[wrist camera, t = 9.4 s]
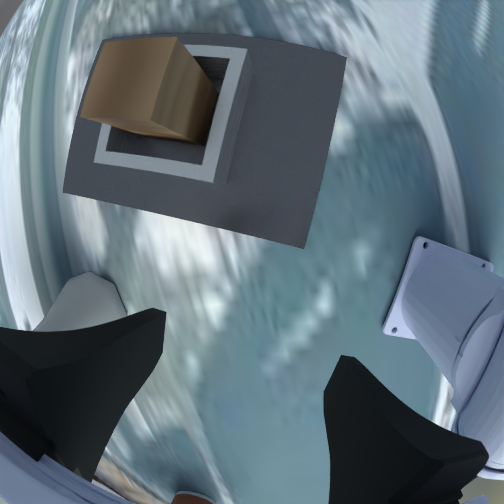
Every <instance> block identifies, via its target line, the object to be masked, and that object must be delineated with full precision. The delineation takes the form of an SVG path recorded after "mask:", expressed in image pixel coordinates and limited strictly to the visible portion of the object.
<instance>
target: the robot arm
mask: <svg viewBox="0 0 504 504" xmlns="http://www.w3.org/2000/svg"><path fill="white" fill-rule="evenodd" d="M425 242H426V247H424V248H423V244H424V243H425ZM482 265H483V267H482ZM492 272H493V264H492V263H490V262H488V261H485V260H483V259H480V258H478V257H475V256H473V255H470V254H468V253H465V252H462V251H460V250H457V249H454V248H452V247H449V246H446V245H444V244H441V243H438V242H435V241H432V240H430V239H427V238H424V237H421V236H418V237H416V238H415V239H414V241H413V244H412V248H411V251H410V254H409V257H408V260H407V264H406V267H405V270H404V273H403V275H402V278H401V281H400V284H399V287H398V289H397V292H396V295H395V297H394V300H393V303H392V305H391V308H390V310H389V313H388V315H387V317H386V320H385V322H384V325H383V327H382V330H383V332H384V333H385V334H387V335H393V336H398V337H404V338H410V339H417V340H418V341H419V343H420V344H421V345H422V346H423V348H424V349H425V350H426V352H427V353H428V354H429V356H430V357H431V358H432V360H433V361H434V362H435V364H436V365H437V366H438V368H439V369H440V370H441V372H442V373H443V374H444V376H445V377H446V379H447V380H448V381H449V383H450V384H451V386H452V387H453V388H454V395H453V398H452V400H451V403H452V405H453V407H454V408H455V410H456V411H457V413H458V414H459V415H458V416H457V417H456V419H455V421H454V423H453V425H452V428H451V431H449V430H447V429H444V428H442V427H440V426H438V425H436V424H435V423H433V422H431V421H429V420H428V419H426V418H424V417H423V416H421V415H419V414H418V413H416V412H415V411H414V410H412V409H411V408H410V407H408V406H407V405H405V404H404V403H403V402H402V401H400V400H399V399H398V398H397V397H396V396H395V395H394V394H392V393H391V392H390V391H389V390H388V389H387V388H386V387H385V386H384V385H383V384H382V383H381V382H380V381H379V380H378V379H377V378H376V377H375V376H374V375H373V374H372V373H371V372H370V371H369V370H368V369H367V368H366V367H365V366H364V365H363V364H362V363H361V362H360V361H358V360H357V359H356V358H355V357H350V356H344V355H341V356H340V359H339V361H338V363H337V365H336V367H335V369H334V372H333V374H332V376H331V378H330V380H329V382H328V384H327V386H326V388H325V390H324V418H325V425H326V432H327V438H328V445H329V452H330V492H329V504H459V501H458V500H459V499H460V498H462V496H463V494H462V492H461V489H462V488H463V487H464V486H465V485H467V484H468V483H469V482H470V481H471V480H472V479H473V478H474V477H475V476H476V475H478V476H480V477H483V478H487V479H497V480H504V278H502V277H500V276H498V275H496V274H494V273H492ZM165 321H166V312H164V311H161V310H158V309H155V308H150V309H147V310H144V311H141V312H138V313H135V314H132V315H129V316H126V317H123V318H120V319H117V320H114V321H111V322H107V323H103V324H100V325H96V326H92V327H87V328H81V329H75V330H66V331H51V332H39V331H23V330H16V329H9V328H4V327H0V496H1V497H2V498H3V499H4V500H5V501H6V502H7V503H8V504H135V503H132V502H130V501H127V500H125V499H123V498H121V497H118V496H116V495H114V494H112V493H110V492H108V491H106V490H104V489H102V488H100V487H98V486H96V485H94V484H92V483H91V482H92V479H93V476H94V474H95V471H96V468H97V466H98V463H99V461H100V459H101V456H102V454H103V452H104V450H105V447H106V445H107V443H108V441H109V439H110V437H111V435H112V433H113V431H114V429H115V427H116V425H117V423H118V421H119V419H120V418H121V416H122V414H123V412H124V411H125V409H126V408H127V406H128V405H129V403H130V402H131V400H132V399H133V398H134V396H135V395H136V394H137V392H138V391H139V389H140V388H141V387H142V385H143V384H144V383H145V381H146V380H147V378H148V377H149V376H150V374H151V373H152V371H153V370H154V368H155V366H156V364H157V363H158V361H159V359H160V357H161V355H162V353H163V342H164V331H165ZM394 327H396V328H395V330H393V331H392V329H393V328H394ZM463 504H489V501H488V499H487V496H486V495H485V494H484V495H481V496H479V497H476V498H474V499H472V500H469V501H467V502H465V503H463Z"/></svg>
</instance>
